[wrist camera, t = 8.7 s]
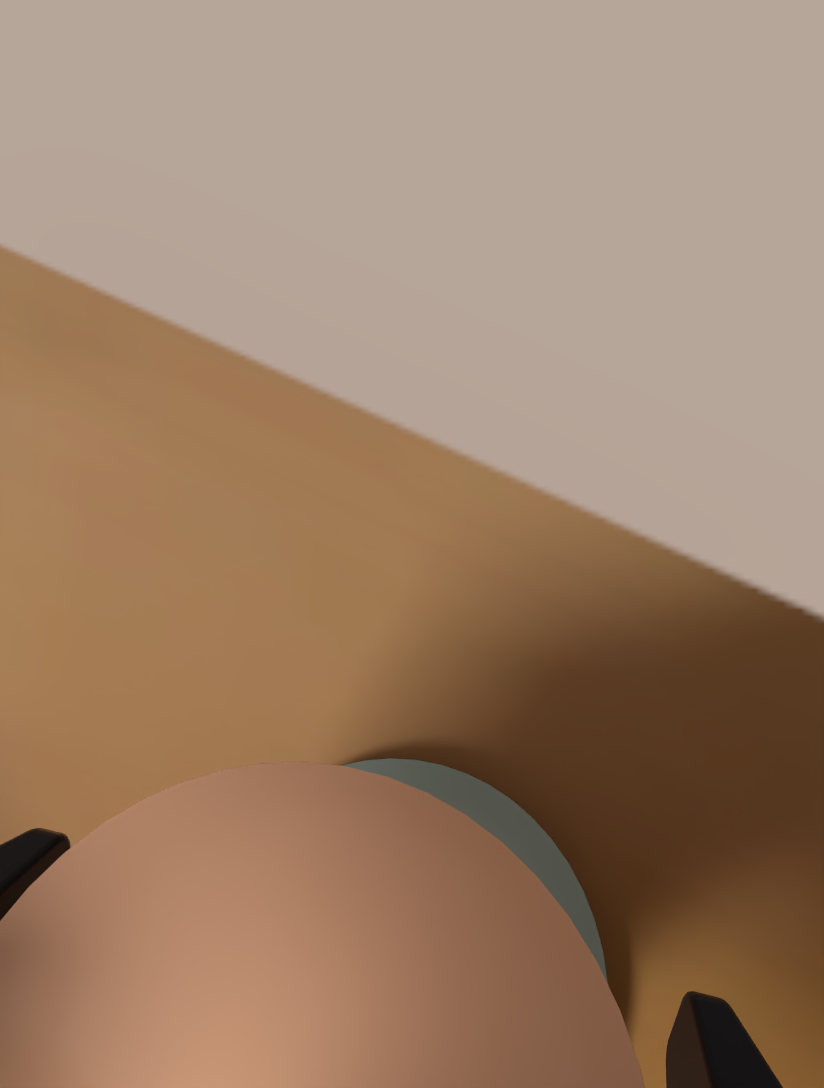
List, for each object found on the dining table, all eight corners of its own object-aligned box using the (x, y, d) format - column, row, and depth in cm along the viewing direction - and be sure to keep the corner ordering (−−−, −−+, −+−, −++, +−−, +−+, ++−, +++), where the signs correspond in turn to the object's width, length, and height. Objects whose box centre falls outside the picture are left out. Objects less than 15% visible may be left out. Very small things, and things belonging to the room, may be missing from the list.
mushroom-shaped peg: (567, 1113, 15) (801, 1629, 5) (272, 1188, 14) (-163, 1905, 4) (489, 805, 17) (533, 697, 7) (236, 865, 17) (-98, 844, 7)
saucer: (520, 1338, 14) (523, 1369, 13) (113, 1106, 16) (92, 1119, 15) (649, 855, 17) (659, 853, 16) (298, 709, 19) (290, 700, 18)
